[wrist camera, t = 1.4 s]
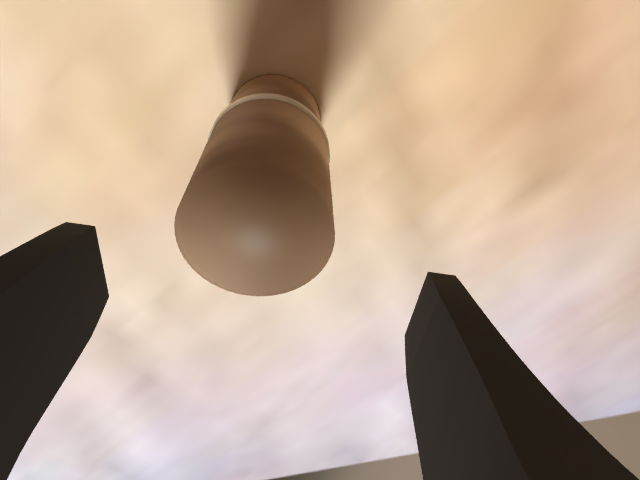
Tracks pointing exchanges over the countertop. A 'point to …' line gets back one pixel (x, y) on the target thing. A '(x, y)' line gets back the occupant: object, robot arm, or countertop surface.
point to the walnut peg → (261, 193)
